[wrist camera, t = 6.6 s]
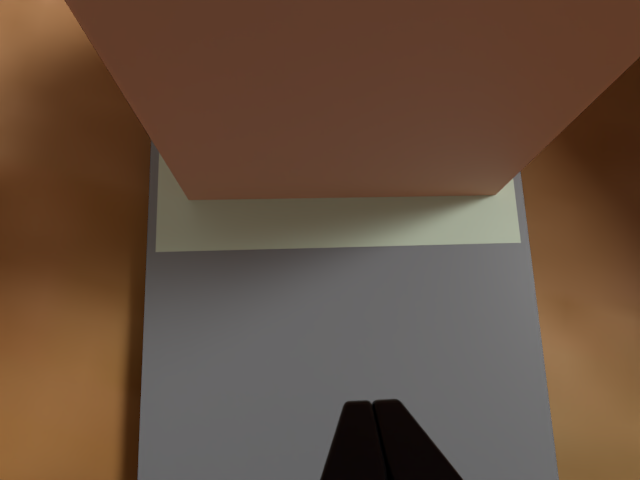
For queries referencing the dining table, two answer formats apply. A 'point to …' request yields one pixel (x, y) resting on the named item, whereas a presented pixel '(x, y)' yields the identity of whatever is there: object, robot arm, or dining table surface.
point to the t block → (357, 88)
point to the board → (338, 331)
